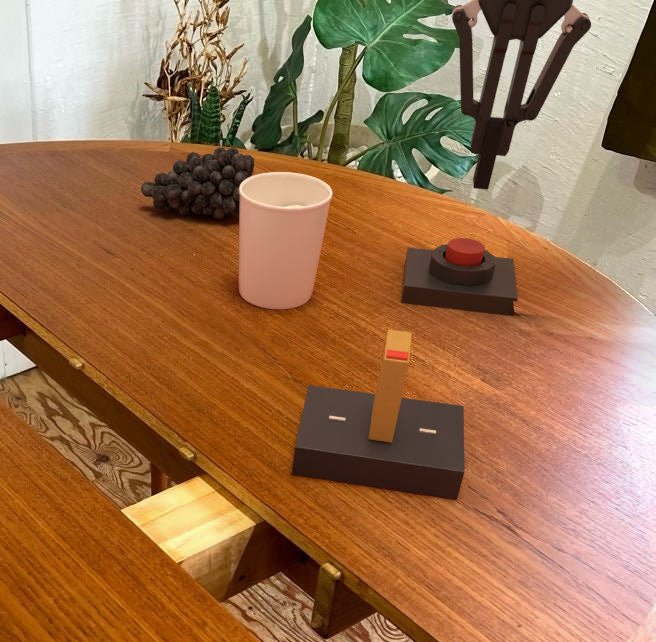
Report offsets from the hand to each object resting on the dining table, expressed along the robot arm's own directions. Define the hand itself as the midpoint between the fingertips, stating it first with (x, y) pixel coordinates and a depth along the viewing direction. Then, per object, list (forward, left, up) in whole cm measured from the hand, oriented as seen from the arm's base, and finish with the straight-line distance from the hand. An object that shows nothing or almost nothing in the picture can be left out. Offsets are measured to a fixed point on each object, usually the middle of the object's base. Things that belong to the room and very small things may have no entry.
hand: (480, 183), depth 102 cm
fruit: (+33, -14, -13) cm, 38 cm away
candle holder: (+20, +6, -13) cm, 24 cm away
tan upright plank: (+7, +34, -9) cm, 36 cm away
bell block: (0, 0, -12) cm, 12 cm away
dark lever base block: (+7, +34, -12) cm, 37 cm away
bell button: (0, 0, -9) cm, 9 cm away
